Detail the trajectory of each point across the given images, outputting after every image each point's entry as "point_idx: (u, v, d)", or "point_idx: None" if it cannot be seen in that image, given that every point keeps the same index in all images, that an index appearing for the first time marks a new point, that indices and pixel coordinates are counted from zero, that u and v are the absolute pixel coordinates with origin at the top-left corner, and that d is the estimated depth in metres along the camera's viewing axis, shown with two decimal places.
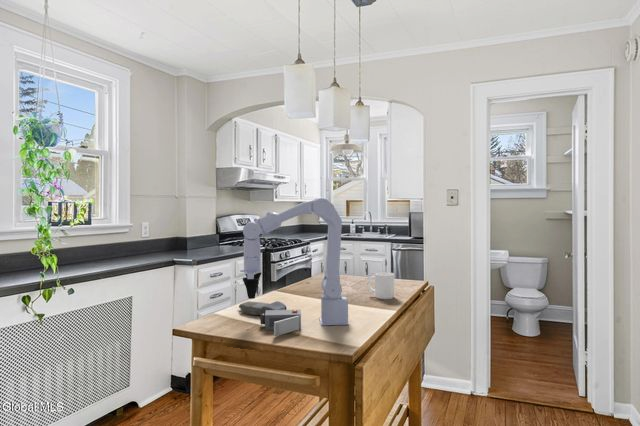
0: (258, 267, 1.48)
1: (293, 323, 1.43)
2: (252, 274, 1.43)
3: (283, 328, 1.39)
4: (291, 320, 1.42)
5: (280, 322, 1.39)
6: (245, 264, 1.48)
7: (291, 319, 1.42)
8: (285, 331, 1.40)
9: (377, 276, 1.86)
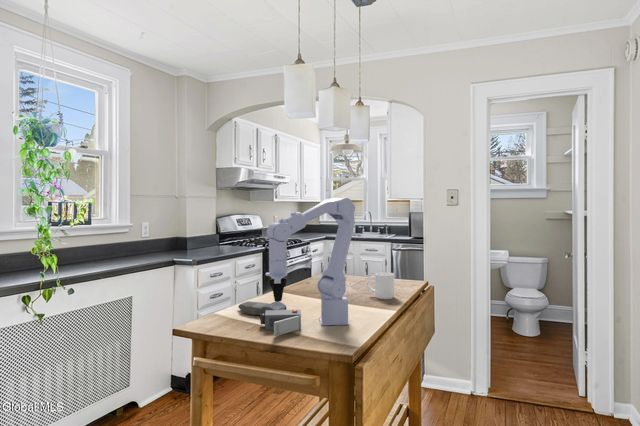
0: (284, 271, 1.40)
1: (293, 323, 1.43)
2: (279, 278, 1.34)
3: (283, 328, 1.39)
4: (291, 320, 1.42)
5: (280, 322, 1.39)
6: (271, 267, 1.39)
7: (291, 319, 1.42)
8: (285, 331, 1.40)
9: (377, 276, 1.86)
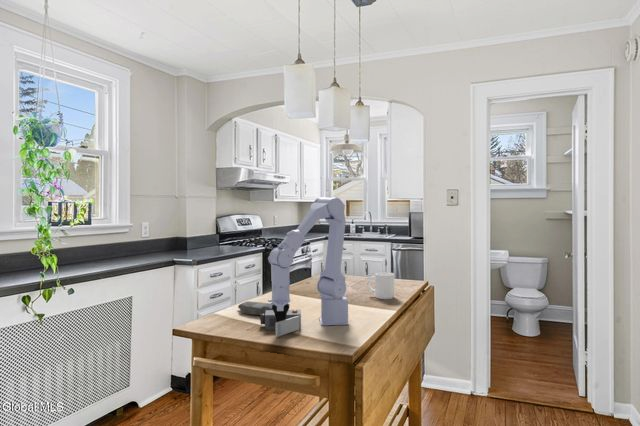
0: (287, 297, 1.39)
1: (294, 323, 1.42)
2: (282, 306, 1.33)
3: (284, 328, 1.39)
4: (291, 320, 1.41)
5: (281, 322, 1.38)
6: (273, 294, 1.38)
7: (292, 319, 1.42)
8: (286, 331, 1.40)
9: (377, 276, 1.86)
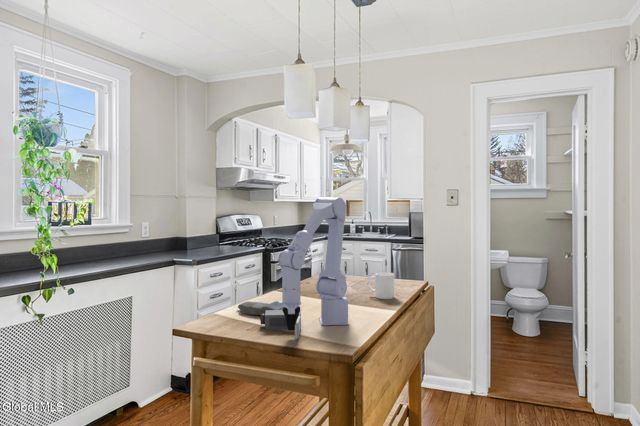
0: (298, 299, 1.35)
1: (299, 324, 1.42)
2: (293, 309, 1.30)
3: None
4: (299, 321, 1.41)
5: (297, 324, 1.36)
6: (284, 296, 1.35)
7: (299, 320, 1.41)
8: None
9: (377, 276, 1.86)
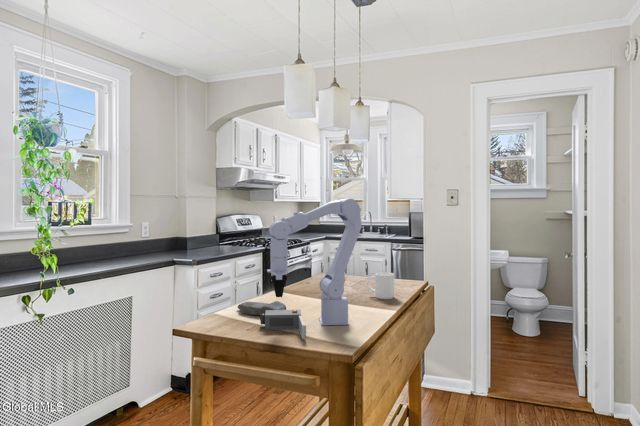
0: (285, 267, 1.45)
1: None
2: (281, 275, 1.40)
3: None
4: None
5: (303, 324, 1.36)
6: (272, 264, 1.45)
7: (302, 320, 1.41)
8: None
9: (377, 276, 1.86)
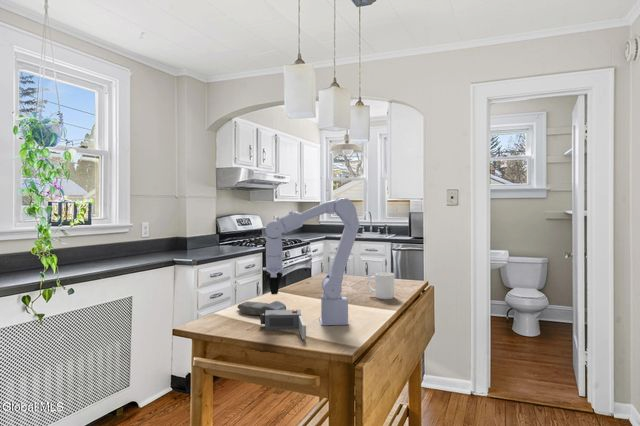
0: (280, 266, 1.49)
1: None
2: (275, 272, 1.44)
3: None
4: None
5: (303, 324, 1.36)
6: (267, 263, 1.49)
7: (302, 320, 1.41)
8: None
9: (377, 276, 1.86)
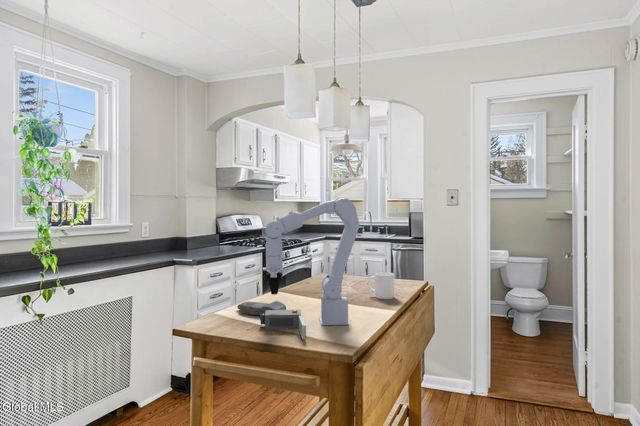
0: (280, 266, 1.49)
1: None
2: (275, 272, 1.44)
3: None
4: None
5: (303, 324, 1.36)
6: (267, 263, 1.49)
7: (302, 320, 1.41)
8: None
9: (377, 276, 1.86)
